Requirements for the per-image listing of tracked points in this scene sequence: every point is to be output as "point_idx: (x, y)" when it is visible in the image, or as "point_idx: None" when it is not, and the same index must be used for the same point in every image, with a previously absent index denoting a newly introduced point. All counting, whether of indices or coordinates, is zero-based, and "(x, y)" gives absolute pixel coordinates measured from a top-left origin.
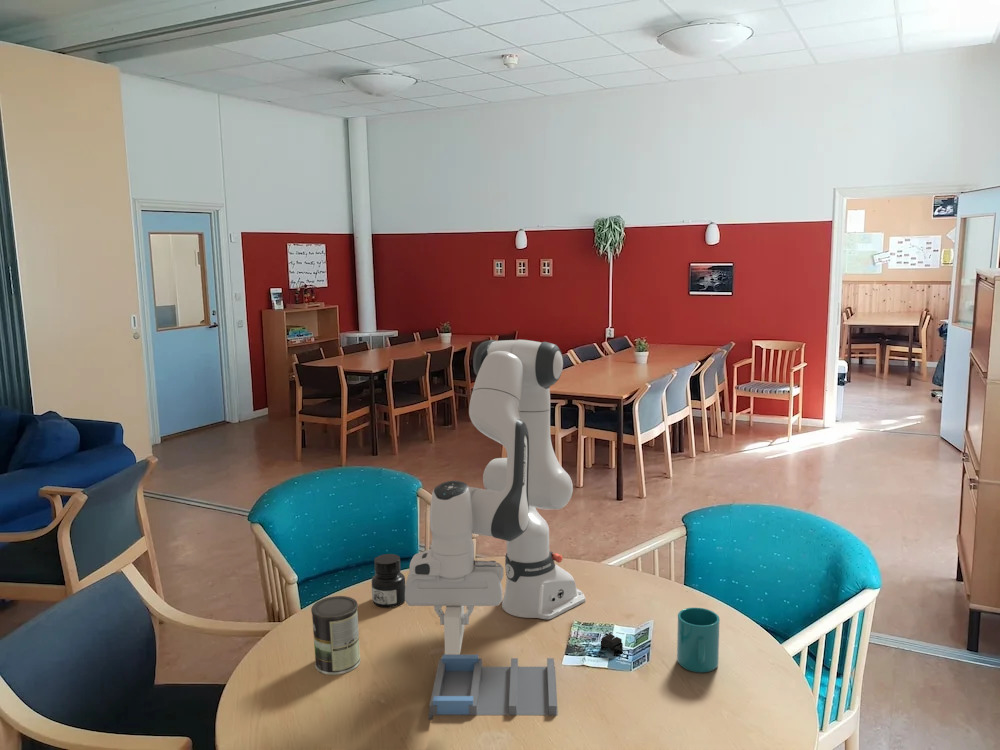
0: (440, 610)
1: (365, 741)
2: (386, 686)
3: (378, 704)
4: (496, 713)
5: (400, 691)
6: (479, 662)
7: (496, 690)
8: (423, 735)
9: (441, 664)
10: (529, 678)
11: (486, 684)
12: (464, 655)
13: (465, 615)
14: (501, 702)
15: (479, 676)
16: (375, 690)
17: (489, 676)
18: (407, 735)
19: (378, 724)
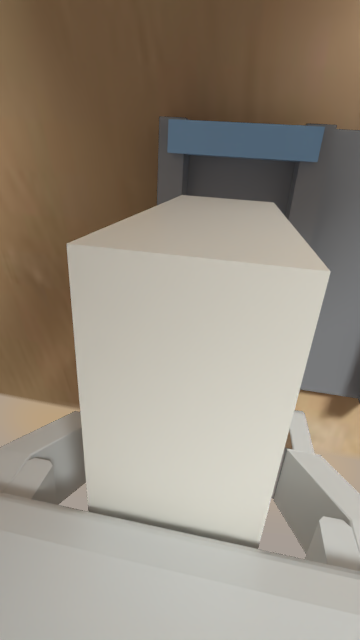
0: (62, 472)
1: (46, 402)
2: (26, 208)
3: (32, 289)
4: (325, 388)
5: (70, 238)
6: (320, 161)
7: (349, 288)
8: None
9: (169, 167)
10: None
11: (322, 252)
12: (261, 131)
13: (279, 474)
14: (350, 347)
15: None
16: (5, 226)
17: (343, 204)
18: None
19: (54, 359)
